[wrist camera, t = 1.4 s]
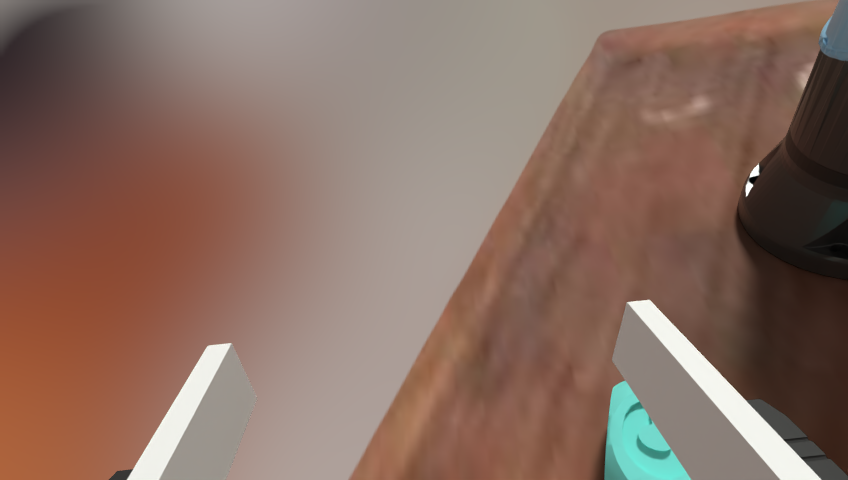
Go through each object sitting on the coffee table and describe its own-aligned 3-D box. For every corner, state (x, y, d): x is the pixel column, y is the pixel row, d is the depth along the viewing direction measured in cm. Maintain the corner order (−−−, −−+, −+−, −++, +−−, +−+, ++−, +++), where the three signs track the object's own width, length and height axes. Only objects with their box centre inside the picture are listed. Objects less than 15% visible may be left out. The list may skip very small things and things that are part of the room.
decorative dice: (738, 551, 25) (769, 555, 19) (607, 501, 29) (601, 492, 23) (731, 427, 28) (755, 399, 23) (616, 398, 33) (612, 370, 27)
